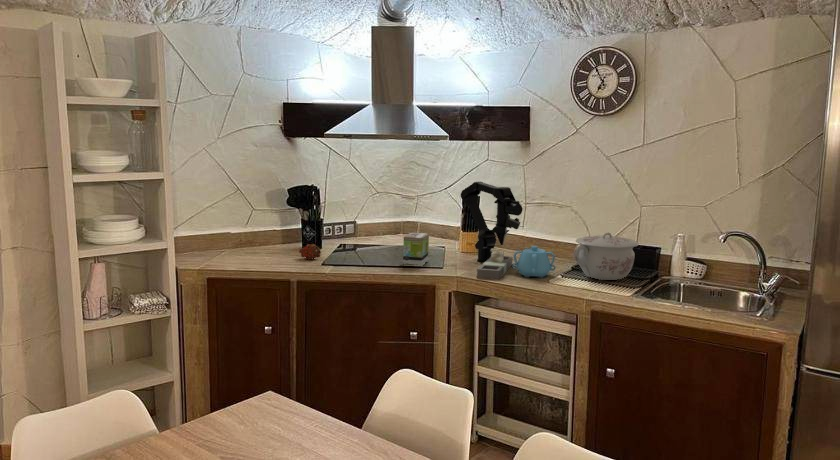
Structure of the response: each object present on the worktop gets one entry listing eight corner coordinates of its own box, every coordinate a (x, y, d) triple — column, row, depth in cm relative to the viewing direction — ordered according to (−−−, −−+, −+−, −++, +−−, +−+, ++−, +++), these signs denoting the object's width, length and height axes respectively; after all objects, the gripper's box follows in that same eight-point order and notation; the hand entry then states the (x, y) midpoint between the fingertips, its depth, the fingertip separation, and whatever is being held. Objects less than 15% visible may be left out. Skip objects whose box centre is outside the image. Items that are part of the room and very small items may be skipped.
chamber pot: (634, 273, 311) (636, 229, 308) (639, 286, 285) (642, 239, 282) (572, 269, 317) (574, 226, 314) (572, 282, 291) (574, 236, 288)
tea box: (422, 268, 318) (423, 237, 316) (402, 266, 320) (402, 236, 318) (428, 261, 333) (429, 232, 331) (409, 260, 335) (409, 231, 333)
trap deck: (476, 277, 298) (477, 269, 298) (492, 263, 330) (492, 255, 330) (499, 279, 295) (499, 270, 295) (512, 264, 327) (512, 256, 327)
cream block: (491, 261, 314) (491, 253, 314) (493, 259, 319) (493, 251, 318) (501, 262, 313) (501, 254, 312) (503, 260, 318) (503, 252, 317)
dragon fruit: (321, 263, 333) (300, 265, 338) (326, 251, 339) (306, 253, 344) (314, 251, 328) (293, 253, 333) (319, 239, 334) (299, 241, 338)
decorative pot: (559, 277, 302) (560, 247, 299) (530, 280, 294) (531, 250, 292) (536, 270, 316) (537, 242, 314) (508, 273, 308) (509, 244, 306)
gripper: (516, 216, 312) (515, 249, 314) (522, 211, 329) (521, 242, 332) (492, 215, 315) (491, 247, 318) (500, 210, 333) (499, 241, 335)
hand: (501, 244), depth 326 cm, fingers closed
